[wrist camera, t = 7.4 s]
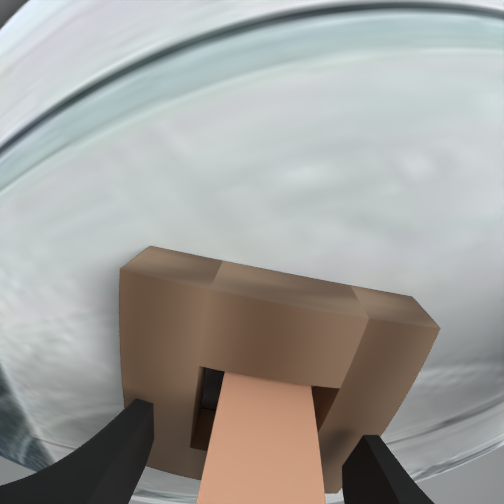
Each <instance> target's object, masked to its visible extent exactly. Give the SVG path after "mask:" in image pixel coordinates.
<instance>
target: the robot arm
mask: <svg viewBox="0 0 504 504" xmlns="http://www.w3.org/2000/svg"><path fill="white" fill-rule="evenodd" d="M153 442H154V406H153V403H150V402H147V401H144V400H140V399H137V398H136V399H134V400H133V401H132V402H131V403H130V404H129V405H128V406H127V407H126V408H125V409H124V410H123V411H122V412H121V413H120V414H119V415H118V416H117V417H116V418H115V419H113V420H112V421H111V422H110V423H109V424H108V425H107V426H106V427H104V428H103V429H102V430H101V431H100V432H99V433H97V434H96V435H95V436H94V437H93V438H91V439H90V440H89V441H87V442H86V443H85V444H83V445H82V446H81V447H79V448H78V449H76V450H75V451H74V452H72V453H71V454H69V455H68V456H66V457H64V458H63V459H61V460H59V461H58V462H56V463H54V464H53V465H51V466H49V467H47V468H45V469H43V470H41V471H39V472H37V473H35V474H33V475H30V476H28V477H25V478H22V479H20V480H17V481H14V482H11V483H8V484H5V485H1V486H0V504H128V503H129V501H130V499H131V496H132V494H133V492H134V490H135V488H136V485H137V483H138V481H139V479H140V477H141V475H142V472H143V470H144V468H145V466H146V463H147V461H148V458H149V455H150V451H151V448H152V445H153ZM342 490H343V497H344V503H345V504H434V503H433V502H432V501H431V500H430V499H429V498H428V497H427V496H426V494H425V493H424V492H423V491H422V490H421V489H420V488H419V487H418V486H417V484H416V483H415V482H414V481H413V480H412V478H411V477H410V476H409V475H408V474H407V472H406V471H405V470H404V468H403V467H402V466H401V465H400V463H399V462H398V461H397V459H396V458H395V457H394V455H393V454H392V453H391V451H390V450H389V448H388V447H387V446H386V444H385V443H384V442H383V440H382V439H381V438H380V437H379V435H363V436H362V437H361V439H360V440H359V442H358V443H357V445H356V446H355V448H354V449H353V451H352V452H351V454H350V455H349V457H348V458H347V460H346V461H345V462H344V464H343V465H342Z"/></svg>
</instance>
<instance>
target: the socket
mask: <svg viewBox="0 0 504 504" xmlns="http://www.w3.org/2000/svg"><path fill="white" fill-rule="evenodd" d="M119 327H120V355H121V372H122V385H123V397H124V407H125V408H126V407H127V406H128V405H129V404H130V403H131V402H132V401H133V400H134V399H136V398H137V399H140V400H144V401H147V402H150V403H153V406H154V442H153V445H152V448H151V451H150V455H149V458H148V461H147V463H146V466H147V467H150V468H154V469H157V470H161V471H164V472H168V473H172V474H176V475H180V476H184V477H188V478H193V479H197V480H202V475H203V470H204V466H205V461H206V457H207V452H208V447H209V443H210V438H211V433H212V429H213V424H214V420H215V415H216V411H213V410H208V409H203V408H201V403H202V395H203V388H204V381H205V374H206V368H211V369H215V370H220V371H225V372H230V373H235V374H240V375H246V376H251V377H257V378H263V379H269V380H276V381H282V382H289V383H296V384H304V385H312V386H314V388H313V390H312V397H313V404H314V411H315V419H316V426H317V434H318V441H319V449H320V458H321V466H322V474H323V483H324V492H325V493H338V492H339V490H340V489H341V488H342V465H343V464H344V462H345V461H346V460H347V458H348V457H349V455H350V454H351V452H352V451H353V449H354V448H355V446H356V445H357V443H358V442H359V440H360V439H361V437H362V436H363V435H379V437H380V436H381V435H382V433H383V432H384V430H385V429H386V427H387V426H388V424H389V423H390V421H391V420H392V418H393V416H394V415H395V413H396V412H397V410H398V408H399V407H400V405H401V403H402V402H403V400H404V398H405V397H406V395H407V393H408V391H409V390H410V388H411V386H412V384H413V383H414V381H415V379H416V377H417V375H418V373H419V371H420V370H421V368H422V366H423V364H424V362H425V360H426V358H427V356H428V354H429V352H430V350H431V348H432V346H433V343H434V341H435V339H436V337H437V335H438V333H439V330H440V327H439V326H438V325H437V324H436V322H435V321H434V320H433V319H432V318H431V317H430V316H429V315H428V313H427V312H426V311H425V310H424V309H423V308H422V307H421V306H420V305H419V303H418V302H417V301H416V300H415V299H414V298H413V297H411V296H405V295H400V294H394V293H389V292H383V291H378V290H372V289H367V288H362V287H356V286H351V285H345V284H340V283H335V282H329V281H324V280H319V279H314V278H308V277H303V276H298V275H293V274H288V273H282V272H277V271H272V270H267V269H262V268H257V267H252V266H247V265H242V264H237V263H232V262H227V261H222V260H217V259H212V258H207V257H202V256H197V255H192V254H187V253H183V252H178V251H173V250H168V249H163V248H158V247H154V246H149V247H148V248H146V249H145V250H144V251H142V252H141V253H140V254H139V255H137V256H136V257H135V258H133V259H132V260H131V261H129V262H128V263H127V264H126V265H124V266H123V267H122V268H120V282H119Z"/></svg>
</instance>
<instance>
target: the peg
mask: <svg viewBox="0 0 504 504" xmlns="http://www.w3.org/2000/svg"><path fill="white" fill-rule="evenodd" d="M196 504H326V502H325V492H324V483H323V474H322V466H321V458H320V449H319V441H318V434H317V426H316V419H315V411H314V404H313V397H312V390H311V385H304V384H296V383H289V382H282V381H276V380H269V379H263V378H257V377H251V376H246V375H240V374H235V373H230V372H225V374H224V378H223V383H222V387H221V392H220V397H219V401H218V406H217V410H216V415H215V420H214V424H213V429H212V433H211V438H210V443H209V447H208V452H207V457H206V461H205V466H204V470H203V475H202V480H201V484H200V489H199V494H198V498H197V503H196Z"/></svg>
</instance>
